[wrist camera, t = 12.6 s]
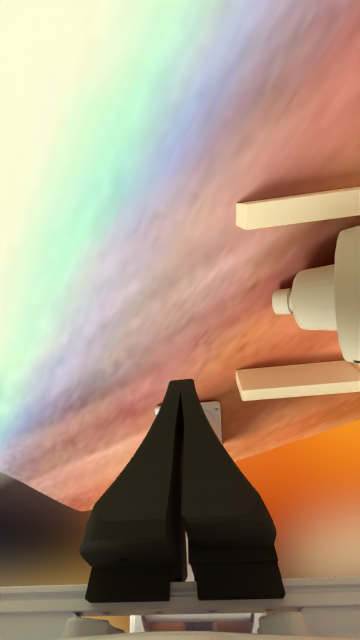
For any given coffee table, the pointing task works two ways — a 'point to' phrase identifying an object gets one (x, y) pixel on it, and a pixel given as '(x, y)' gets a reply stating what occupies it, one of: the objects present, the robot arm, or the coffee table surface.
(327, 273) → the showerhead
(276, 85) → the coffee table surface
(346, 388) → the dock
